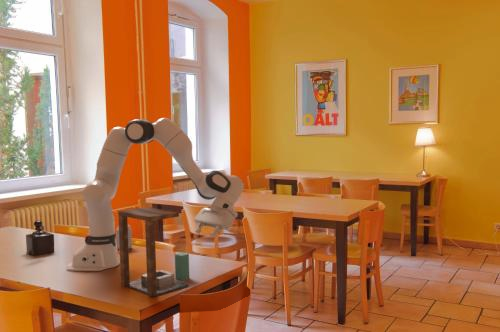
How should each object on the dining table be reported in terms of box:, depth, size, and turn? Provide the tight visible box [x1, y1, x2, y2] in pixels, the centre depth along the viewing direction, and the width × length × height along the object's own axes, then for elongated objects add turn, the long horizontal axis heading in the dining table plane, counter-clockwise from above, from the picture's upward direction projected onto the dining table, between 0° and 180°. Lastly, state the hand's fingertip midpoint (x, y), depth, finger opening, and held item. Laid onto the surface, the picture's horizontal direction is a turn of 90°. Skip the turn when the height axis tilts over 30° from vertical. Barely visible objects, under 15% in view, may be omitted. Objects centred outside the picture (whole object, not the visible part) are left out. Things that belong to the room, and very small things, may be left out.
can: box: [115, 224, 133, 251], centre depth 250 cm, size 8×8×12 cm
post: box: [174, 252, 190, 281], centre depth 198 cm, size 4×4×10 cm
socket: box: [123, 269, 189, 298], centre depth 189 cm, size 16×20×4 cm
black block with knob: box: [25, 219, 55, 257], centre depth 242 cm, size 16×11×18 cm
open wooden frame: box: [117, 206, 180, 297], centre depth 186 cm, size 13×21×29 cm, turn 46°
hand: (204, 234), depth 206 cm, fingers open, 8 cm apart
